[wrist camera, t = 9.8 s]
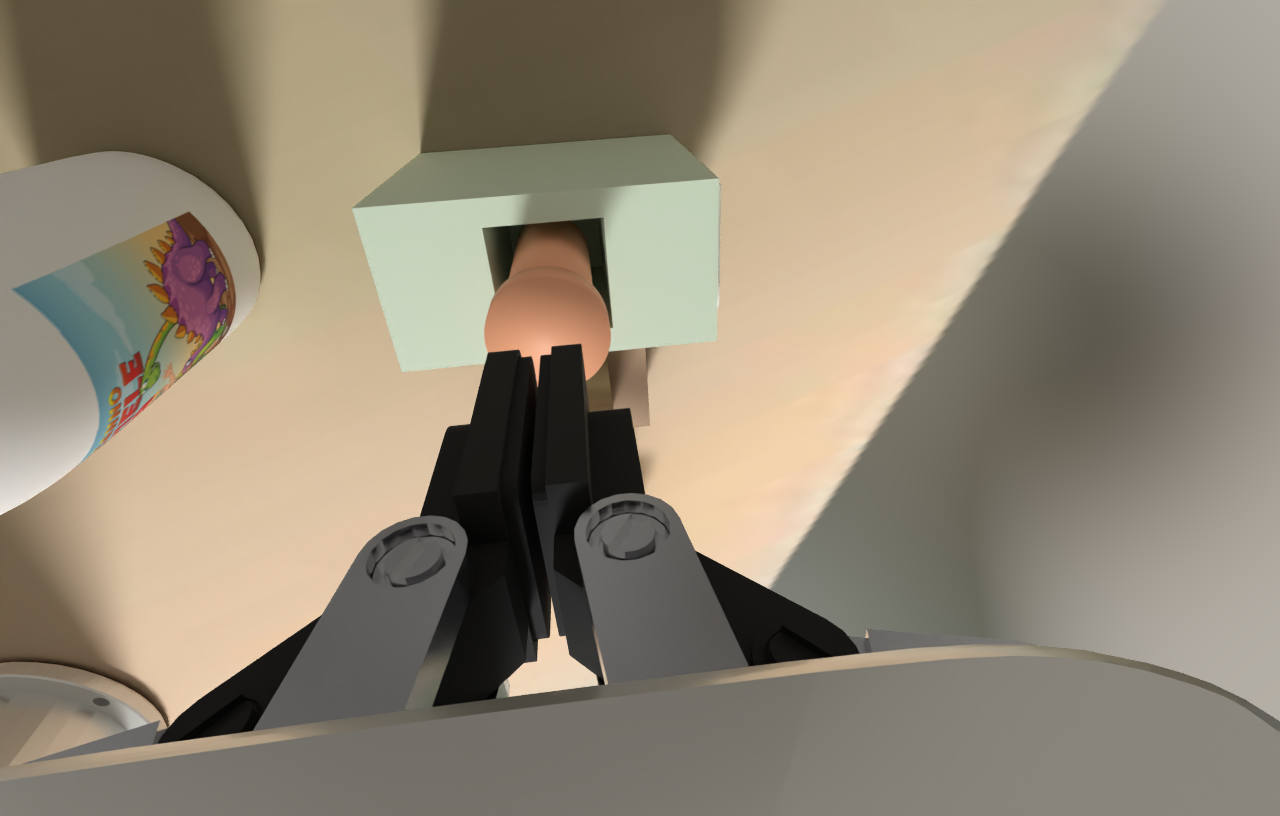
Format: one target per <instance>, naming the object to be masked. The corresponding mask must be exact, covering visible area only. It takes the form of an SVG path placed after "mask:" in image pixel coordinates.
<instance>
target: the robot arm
mask: <svg viewBox="0 0 1280 816" xmlns="http://www.w3.org/2000/svg"><path fill="white" fill-rule="evenodd" d="M551 597H552V602H553V607H554V612H555V617H556V622H557V627H558V632H559V635H560V636H566V639H567V644H568V649H569V654H570V656H571V657H573V658H574V659H576V660H577V661H578V662H580V663H581V664H582V665H584V666H585V667H586V668H588V669H589V670H590V671H592V672H593V673H594V674H596V680H597V686H591V687H583V688H575V689H568V690H560V691H552V692H544V693H537V694H529V695H521V696H514V697H509V689H510V685H509V681H508V677H510V676H511V675H512V674H513V673H514V672H515V671H516V670H517V669H518V668H519V667H520V666H521V665H522V664H523V663H527V662H535V661H537V649H538V639H543V638H549V637H550V620H551ZM0 816H1280V721H1278V720H1277V719H1275V718H1274V717H1272V716H1270V715H1269V714H1267V713H1266V712H1264V711H1263V710H1261V709H1259V708H1258V707H1256V706H1254V705H1253V704H1251V703H1250V702H1248V701H1247V700H1245V699H1243V698H1241V697H1239V696H1237V695H1235V694H1233V693H1231V692H1228V691H1226V690H1224V689H1222V688H1220V687H1218V686H1216V685H1214V684H1212V683H1209V682H1206V681H1203V680H1200V679H1198V678H1195V677H1192V676H1189V675H1186V674H1183V673H1180V672H1177V671H1174V670H1170V669H1167V668H1163V667H1159V666H1156V665H1153V664H1149V663H1145V662H1140V661H1135V660H1130V659H1125V658H1120V657H1115V656H1111V655H1106V654H1101V653H1096V652H1091V651H1086V650H1078V649H1068V648H1058V647H1048V646H1038V645H1033V644H1029V643H1025V642H1020V641H1012V640H1000V639H987V638H974V637H962V636H949V635H936V634H923V633H910V632H897V631H885V630H872V629H867V632H866V636H865V638H863V637H851V636H847V635H846V633H845V632H844V631H843V630H841V629H840V628H838V627H837V626H836V625H834V624H833V623H831V622H829V621H828V620H827V619H825V618H823V617H821V616H819V615H817V614H815V613H813V612H811V611H809V610H807V609H806V608H804V607H802V606H800V605H798V604H796V603H794V602H792V601H790V600H788V599H786V598H785V597H783V596H781V595H779V594H777V593H775V592H773V591H771V590H769V589H767V588H766V587H764V586H762V585H760V584H758V583H756V582H754V581H752V580H750V579H748V578H746V577H745V576H743V575H741V574H739V573H737V572H735V571H733V570H731V569H729V568H727V567H725V566H724V565H722V564H720V563H718V562H716V561H714V560H712V559H710V558H708V557H706V556H704V555H702V554H701V553H699V552H697V551H695V550H694V547H693V545H692V543H691V541H690V539H689V537H688V535H687V532H686V530H685V528H684V526H683V524H682V522H681V520H680V517H679V516H678V515H677V513H676V512H675V510H674V509H673V508H672V507H671V506H670V505H668V504H667V503H665V502H664V501H662V500H661V499H658V498H655V497H652V496H650V495H646V494H645V491H644V485H643V479H642V473H641V468H640V462H639V456H638V450H637V445H636V439H635V433H634V427H633V421H632V416H631V410H630V408H622V409H612V410H602V411H593V412H590V410H589V402H588V393H587V385H586V376H585V368H584V360H583V352H582V345H581V344H571V345H561V346H552V347H551V354H549V355H541V356H540V368H539V380H538V386H537V380H536V374H535V368H534V363H533V359H532V356H529V357H522V356H521V353H520V350H509V351H498V352H488V354H487V358H486V362H485V366H484V370H483V374H482V378H481V382H480V386H479V390H478V394H477V398H476V402H475V406H474V410H473V415H472V419H471V423H470V424H467V425H457V426H450V427H448V428H447V430H446V432H445V435H444V439H443V442H442V445H441V449H440V452H439V455H438V459H437V462H436V465H435V468H434V472H433V475H432V478H431V482H430V485H429V488H428V492H427V495H426V498H425V501H424V505H423V508H422V511H421V515H420V517H414V518H411V519H407V520H404V521H401V522H398V523H396V524H394V525H392V526H390V527H388V528H386V529H384V530H382V531H381V532H380V533H378V534H377V535H376V536H374V537H373V538H372V539H371V540H369V541H368V542H367V544H366V545H365V546H364V547H363V549H362V550H361V551H360V552H359V554H358V555H357V557H356V559H355V560H354V562H353V564H352V565H351V567H350V569H349V570H348V572H347V574H346V575H345V577H344V579H343V580H342V582H341V584H340V585H339V587H338V589H337V590H336V592H335V594H334V596H333V597H332V599H331V601H330V602H329V604H328V606H327V607H326V609H325V611H324V612H323V614H322V615H321V616H320V617H318V618H317V619H315V620H314V621H312V622H311V623H309V624H308V625H307V626H305V627H304V628H302V629H301V630H299V631H298V632H296V633H295V634H294V635H292V636H291V637H289V638H288V639H286V640H285V641H283V642H282V643H280V644H279V645H278V646H276V647H275V648H273V649H272V650H270V651H269V652H267V653H266V654H264V655H263V656H262V657H260V658H259V659H257V660H256V661H254V662H253V663H251V664H250V665H249V666H247V667H246V668H244V669H243V670H241V671H240V672H238V673H237V674H235V675H234V676H233V677H231V678H230V679H228V680H227V681H225V682H224V683H222V684H221V685H219V686H218V687H217V688H215V689H214V690H212V691H211V692H209V693H208V694H206V695H205V696H204V697H202V698H201V699H199V700H198V701H197V702H196V703H194V704H193V705H192V706H191V707H189V708H188V709H187V710H186V711H184V712H183V713H182V714H181V715H180V716H179V717H178V718H177V719H176V720H175V721H174V722H173V723H172V725H171V726H170V727H169V728H167V726H166V724H165V722H164V720H163V718H162V715H161V714H160V713H159V712H158V710H157V709H156V708H155V707H154V706H153V705H152V704H151V703H150V702H149V701H148V700H146V699H145V698H144V697H143V696H141V695H140V694H139V693H137V692H135V691H134V690H132V689H130V688H128V687H127V686H125V685H123V684H121V683H119V682H116V681H114V680H112V679H109V678H107V677H105V676H101V675H98V674H95V673H92V672H89V671H85V670H82V669H77V668H72V667H68V666H63V665H57V664H48V663H39V662H5V663H0Z"/></svg>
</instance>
